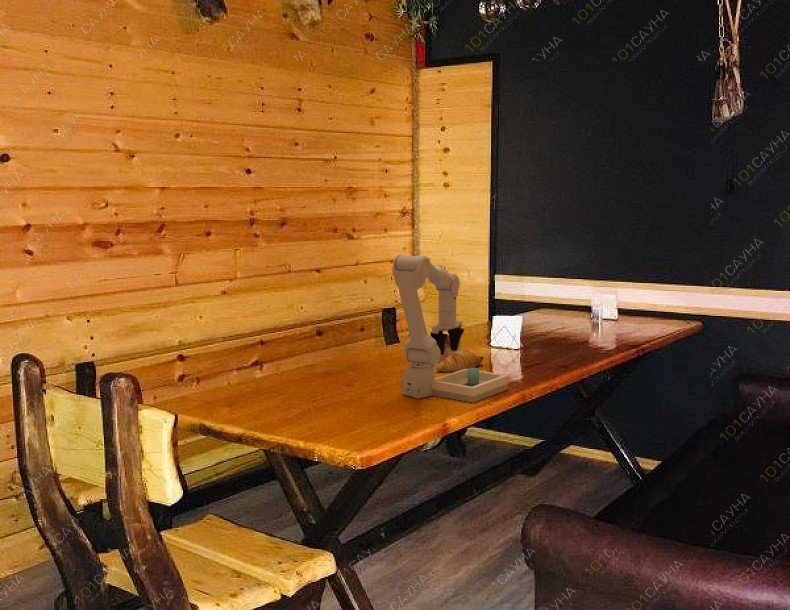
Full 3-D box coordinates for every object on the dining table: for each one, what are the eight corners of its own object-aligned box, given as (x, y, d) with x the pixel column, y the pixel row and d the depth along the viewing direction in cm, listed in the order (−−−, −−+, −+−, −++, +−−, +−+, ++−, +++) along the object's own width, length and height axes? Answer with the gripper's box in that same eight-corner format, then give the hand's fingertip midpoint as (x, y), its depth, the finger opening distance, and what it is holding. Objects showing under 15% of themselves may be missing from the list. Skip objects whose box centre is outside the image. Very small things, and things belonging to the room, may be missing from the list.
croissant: (442, 384, 280) (449, 366, 275) (425, 366, 286) (431, 348, 282) (487, 374, 292) (494, 356, 288) (469, 357, 298) (476, 339, 294)
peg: (465, 391, 256) (465, 369, 255) (470, 389, 259) (470, 367, 258) (475, 393, 254) (476, 370, 253) (481, 390, 257) (481, 368, 256)
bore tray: (473, 403, 242) (473, 388, 242) (429, 394, 252) (429, 380, 252) (507, 389, 258) (508, 375, 257) (465, 382, 268) (465, 368, 267)
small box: (434, 362, 298) (434, 333, 296) (440, 359, 303) (440, 331, 301) (454, 364, 294) (454, 335, 292) (461, 361, 299) (461, 332, 297)
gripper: (444, 314, 257) (444, 357, 259) (470, 309, 268) (469, 349, 270) (426, 312, 261) (426, 354, 263) (452, 307, 272) (452, 347, 274)
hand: (447, 352), depth 267 cm, fingers open, 7 cm apart
